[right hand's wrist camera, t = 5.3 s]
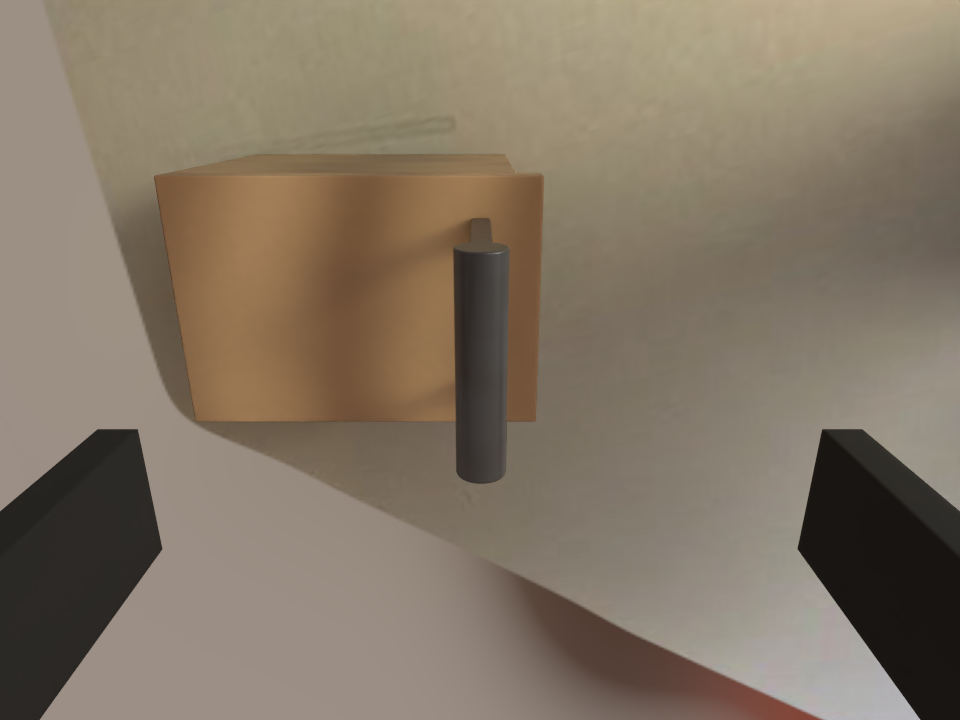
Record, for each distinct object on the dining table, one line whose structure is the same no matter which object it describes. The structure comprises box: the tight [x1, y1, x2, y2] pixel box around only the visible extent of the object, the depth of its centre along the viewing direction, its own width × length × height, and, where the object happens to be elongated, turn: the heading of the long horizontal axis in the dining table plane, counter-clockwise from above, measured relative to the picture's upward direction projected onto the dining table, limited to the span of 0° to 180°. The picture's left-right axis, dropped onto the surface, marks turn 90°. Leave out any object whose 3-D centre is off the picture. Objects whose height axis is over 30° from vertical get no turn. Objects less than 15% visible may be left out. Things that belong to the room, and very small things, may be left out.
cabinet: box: [171, 155, 515, 173], centre depth 31 cm, size 13×10×10 cm
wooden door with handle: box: [154, 173, 544, 484], centre depth 22 cm, size 14×10×8 cm
